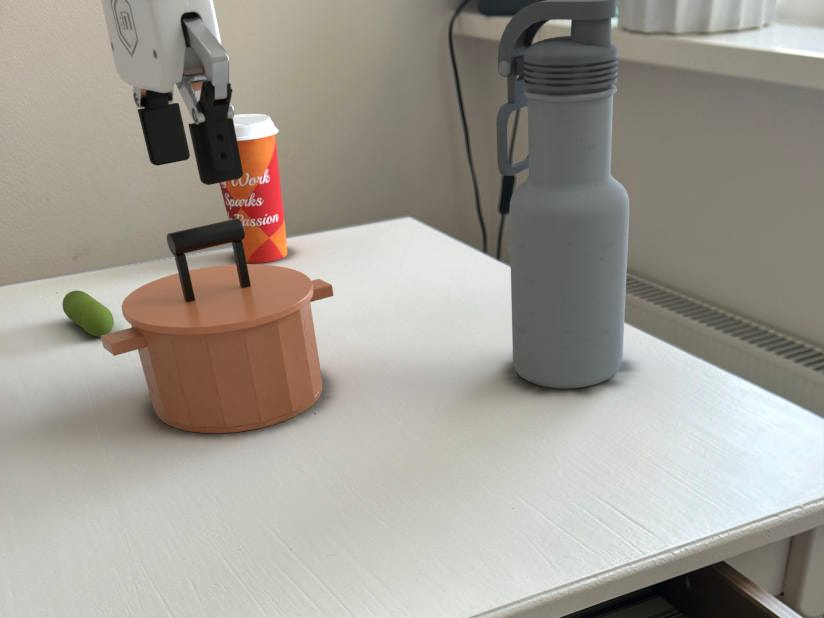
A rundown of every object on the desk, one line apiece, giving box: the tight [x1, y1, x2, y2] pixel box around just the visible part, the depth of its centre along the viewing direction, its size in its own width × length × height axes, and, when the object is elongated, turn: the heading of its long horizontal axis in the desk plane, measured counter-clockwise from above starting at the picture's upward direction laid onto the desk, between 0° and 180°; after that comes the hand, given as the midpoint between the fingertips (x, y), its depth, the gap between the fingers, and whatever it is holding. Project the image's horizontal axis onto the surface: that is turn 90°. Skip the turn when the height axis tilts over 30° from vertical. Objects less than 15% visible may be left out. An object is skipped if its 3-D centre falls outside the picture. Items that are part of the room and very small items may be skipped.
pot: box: [100, 278, 334, 434], centre depth 84 cm, size 15×20×8 cm
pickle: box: [62, 289, 115, 337], centre depth 101 cm, size 9×3×3 cm, turn 37°
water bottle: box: [495, 0, 630, 390], centre depth 79 cm, size 10×10×28 cm
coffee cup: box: [219, 113, 288, 264], centre depth 115 cm, size 8×8×15 cm
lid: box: [121, 218, 314, 335], centre depth 80 cm, size 16×16×6 cm
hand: (195, 171), depth 75 cm, fingers open, 9 cm apart
